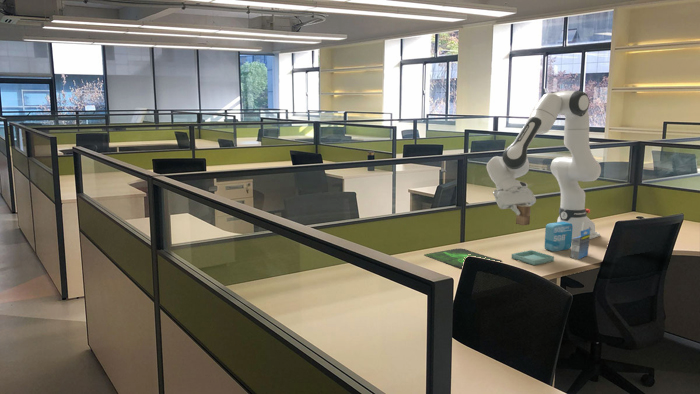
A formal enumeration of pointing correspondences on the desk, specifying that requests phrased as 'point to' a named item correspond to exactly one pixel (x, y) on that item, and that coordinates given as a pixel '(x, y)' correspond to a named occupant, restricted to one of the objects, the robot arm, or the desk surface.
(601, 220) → the desk surface
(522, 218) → the walnut block
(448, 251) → the mouse mat
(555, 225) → the blue soap box
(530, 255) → the teal tray
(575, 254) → the label tape box
